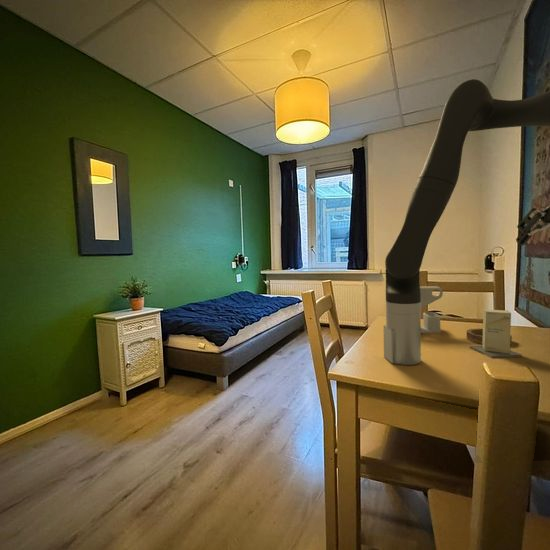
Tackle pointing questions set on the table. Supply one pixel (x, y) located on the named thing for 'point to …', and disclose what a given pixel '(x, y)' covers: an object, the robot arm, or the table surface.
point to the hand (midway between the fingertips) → (535, 242)
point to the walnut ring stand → (478, 335)
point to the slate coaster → (496, 354)
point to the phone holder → (430, 318)
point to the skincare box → (496, 330)
